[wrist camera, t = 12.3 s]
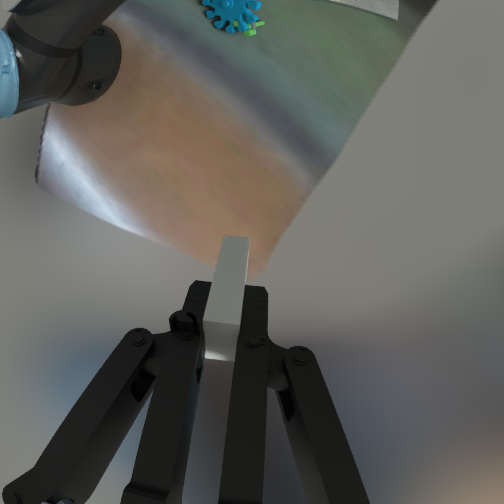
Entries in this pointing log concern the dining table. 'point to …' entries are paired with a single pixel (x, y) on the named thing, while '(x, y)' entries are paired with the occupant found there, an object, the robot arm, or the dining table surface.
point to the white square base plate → (372, 7)
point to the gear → (235, 15)
